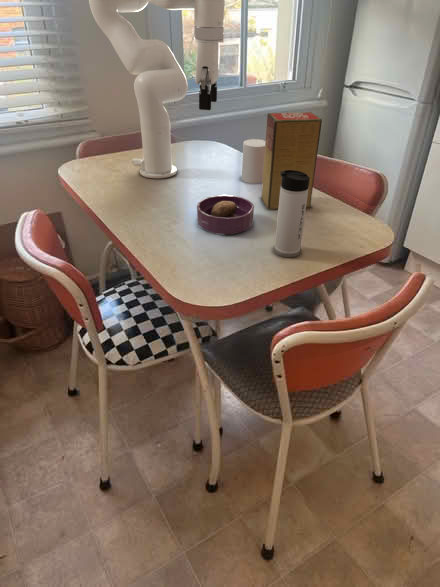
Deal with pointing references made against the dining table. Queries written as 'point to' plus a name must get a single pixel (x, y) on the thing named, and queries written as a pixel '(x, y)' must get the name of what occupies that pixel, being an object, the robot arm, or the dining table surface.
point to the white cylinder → (253, 160)
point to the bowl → (220, 223)
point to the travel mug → (291, 212)
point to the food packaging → (289, 151)
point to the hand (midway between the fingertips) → (208, 105)
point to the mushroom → (224, 209)
